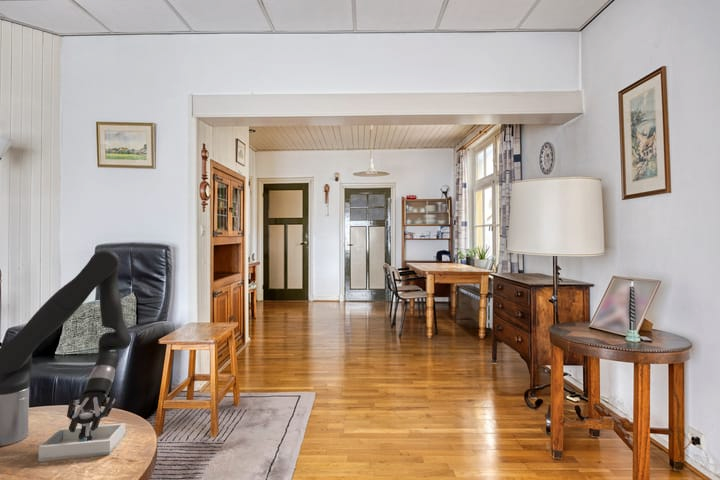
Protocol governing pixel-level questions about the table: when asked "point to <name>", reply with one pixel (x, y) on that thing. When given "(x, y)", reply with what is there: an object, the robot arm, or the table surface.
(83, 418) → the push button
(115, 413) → the table surface
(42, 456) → the tray
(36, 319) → the robot arm
